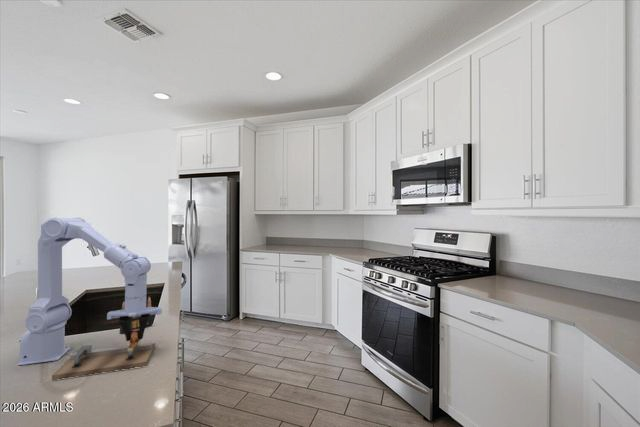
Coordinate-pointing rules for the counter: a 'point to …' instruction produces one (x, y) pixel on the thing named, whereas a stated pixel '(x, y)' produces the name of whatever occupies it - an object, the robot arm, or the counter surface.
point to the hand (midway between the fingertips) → (134, 339)
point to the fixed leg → (81, 354)
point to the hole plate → (103, 364)
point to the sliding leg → (133, 342)
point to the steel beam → (112, 351)
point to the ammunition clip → (137, 319)
